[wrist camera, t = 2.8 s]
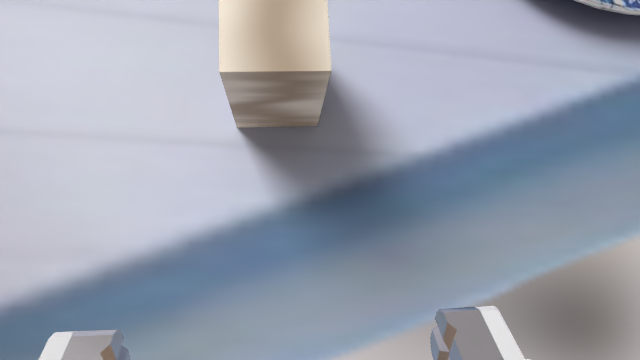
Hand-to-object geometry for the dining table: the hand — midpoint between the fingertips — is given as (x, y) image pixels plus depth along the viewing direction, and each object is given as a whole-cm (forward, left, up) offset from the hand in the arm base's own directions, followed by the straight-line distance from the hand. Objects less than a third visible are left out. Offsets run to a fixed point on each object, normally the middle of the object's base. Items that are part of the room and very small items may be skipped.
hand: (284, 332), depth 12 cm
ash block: (0, +13, -15) cm, 19 cm away
